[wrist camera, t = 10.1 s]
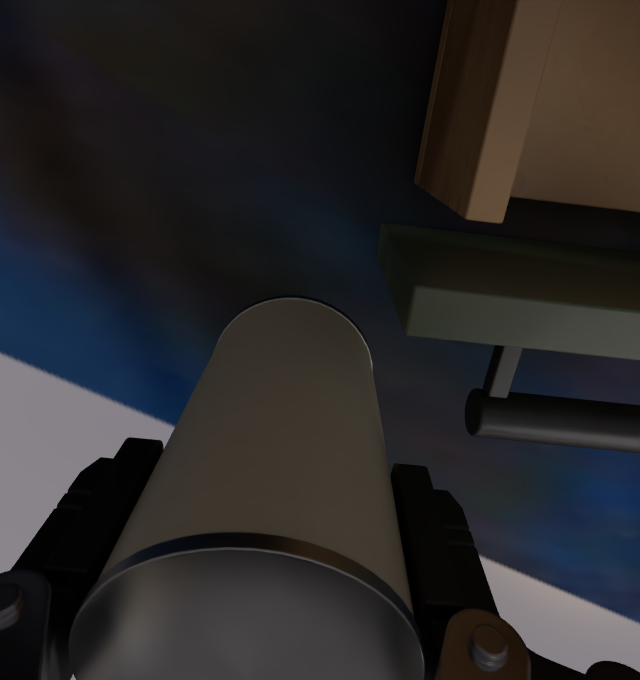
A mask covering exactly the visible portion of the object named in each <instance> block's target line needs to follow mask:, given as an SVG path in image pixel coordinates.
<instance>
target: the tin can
mask: <svg viewBox="0 0 640 680" xmlns="http://www.w3.org/2000/svg"><path fill="white" fill-rule="evenodd" d="M68 648H69V659H70V664H71V667H72V670H73V674H74V676H75V678H76V680H424V678H425V656H424V650H423V645H422V640H421V635H420V631H419V628H418V626H417V623H416V621H415V617H414V611H413V605H412V599H411V594H410V588H409V582H408V576H407V570H406V564H405V558H404V553H403V547H402V541H401V535H400V529H399V523H398V518H397V512H396V506H395V500H394V494H393V488H392V483H391V477H390V471H389V465H388V459H387V453H386V447H385V442H384V436H383V430H382V424H381V418H380V412H379V407H378V401H377V395H376V389H375V383H374V377H373V364H372V357H371V353H370V349H369V346H368V343H367V341H366V339H365V337H364V335H363V333H362V332H361V330H360V329H359V328H358V326H357V325H356V324H355V323H354V322H353V321H352V320H351V318H350V317H348V316H347V315H346V314H345V313H343V312H342V311H341V310H339V309H338V308H336V307H334V306H333V305H331V304H329V303H326V302H324V301H322V300H319V299H315V298H312V297H307V296H301V295H281V296H274V297H270V298H266V299H263V300H260V301H257V302H255V303H253V304H251V305H249V306H247V307H246V308H244V309H243V310H242V311H240V312H239V313H238V314H237V315H235V316H234V317H233V318H232V319H231V320H230V322H229V323H228V324H227V325H226V327H225V328H224V330H223V332H222V333H221V335H220V337H219V339H218V342H217V344H216V346H215V350H214V352H213V354H212V356H211V358H210V360H209V362H208V364H207V366H206V368H205V370H204V372H203V374H202V376H201V378H200V380H199V382H198V383H197V385H196V387H195V389H194V391H193V393H192V395H191V397H190V399H189V401H188V403H187V405H186V407H185V409H184V411H183V413H182V415H181V417H180V419H179V421H178V423H177V425H176V427H175V429H174V431H173V433H172V435H171V437H170V439H169V441H168V443H167V445H166V446H165V448H164V450H163V452H162V454H161V456H160V458H159V460H158V462H157V464H156V466H155V468H154V470H153V472H152V474H151V476H150V478H149V480H148V482H147V484H146V486H145V488H144V490H143V492H142V494H141V496H140V498H139V500H138V502H137V503H136V505H135V507H134V509H133V511H132V513H131V515H130V517H129V519H128V521H127V523H126V525H125V527H124V529H123V531H122V533H121V535H120V537H119V539H118V541H117V543H116V545H115V547H114V549H113V551H112V553H111V555H110V557H109V559H108V561H107V562H106V564H105V566H104V568H103V570H102V572H101V574H100V576H99V578H98V580H97V582H96V583H95V584H94V585H93V586H92V587H91V589H90V591H89V592H88V594H87V596H86V597H85V599H84V600H83V602H82V604H81V606H80V608H79V610H78V612H77V614H76V616H75V619H74V621H73V624H72V627H71V630H70V637H69V645H68Z"/></svg>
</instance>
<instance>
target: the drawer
mask: <svg viewBox="0 0 640 680" xmlns="http://www.w3.org/2000/svg"><path fill="white" fill-rule="evenodd" d="M414 183H415V184H416V185H418V186H419V187H420V188H422V189H423V190H425V191H426V192H428V193H429V194H430V195H432V196H433V197H435V198H436V199H438V200H439V201H440V202H442V203H443V204H445V205H446V206H448V207H449V208H450V209H452V210H453V211H455V212H456V213H458V214H459V215H460V216H462V217H463V218H465V219H466V220H473V221H482V222H490V223H499V224H500V223H502V222H503V220H504V216H505V212H506V209H507V205H508V201H509V198H510V197H513V198H521V199H530V200H538V201H546V202H555V203H563V204H572V205H580V206H589V207H597V208H606V209H614V210H622V211H631V212H639V213H640V0H448V1H447V7H446V12H445V17H444V23H443V28H442V34H441V39H440V44H439V50H438V55H437V60H436V66H435V71H434V76H433V82H432V87H431V93H430V98H429V103H428V109H427V114H426V119H425V125H424V130H423V136H422V141H421V146H420V152H419V157H418V162H417V168H416V173H415V179H414ZM376 257H377V260H378V262H379V265H380V268H381V271H382V273H383V276H384V279H385V282H386V284H387V287H388V290H389V293H390V295H391V298H392V301H393V304H394V306H395V309H396V312H397V315H398V317H399V320H400V323H401V326H402V328H403V331H404V334H405V335H407V336H416V337H425V338H435V339H444V340H453V341H462V342H472V343H481V344H490V345H495V347H494V351H493V354H492V357H491V361H490V364H489V368H488V371H487V374H486V378H485V381H484V384H483V388H484V389H478V388H475V389H473V390H471V392H470V393H469V395H468V398H467V401H466V406H465V424H466V428H467V431H468V433H469V434H470V435H471V436H474V437H484V438H494V439H504V440H514V441H523V442H533V443H543V444H553V445H563V446H573V447H583V448H593V449H603V450H613V451H622V452H632V453H640V405H632V404H622V403H612V402H603V401H593V400H584V399H574V398H565V397H555V396H545V395H536V394H526V393H517V392H509V391H510V387H511V384H512V381H513V378H514V375H515V372H516V369H517V366H518V363H519V360H520V357H521V354H522V351H523V348H527V349H537V350H546V351H555V352H565V353H574V354H583V355H592V356H602V357H611V358H620V359H629V360H639V361H640V252H633V251H624V250H615V249H607V248H598V247H589V246H581V245H572V244H563V243H555V242H546V241H538V240H529V239H520V238H512V237H503V236H494V235H486V234H477V233H468V232H460V231H451V230H442V229H434V228H425V227H416V226H408V225H399V224H390V223H381V225H380V231H379V237H378V243H377V249H376Z"/></svg>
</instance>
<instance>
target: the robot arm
mask: <svg viewBox="0 0 640 680" xmlns="http://www.w3.org/2000/svg"><path fill="white" fill-rule="evenodd" d="M163 450H164V449H163V443H162V441H160V440H152V439H141V438H127V439H126V440H125V442H124V443H123V445H122V446H121V448H120V449H119V451H118V452H117V454H116V456H115V457H114V458H113V459H112V458H102V457H101V458H99V459H98V460H96V461H95V462H94V463H92V464H91V465H90V466H88V467H87V468H85V469H84V470H83V471H81V472H80V474H79V475H78V476H77V478H76V479H75V481H74V482H73V483H72V485H71V486H70V488H69V489H68V492H67V494H65V495H64V496H63V497H62V499H61V500H60V502H59V503H58V505H57V508H56V509H54V510H53V511H52V513H51V514H50V516H49V517H48V518H47V520H46V521H45V523H44V524H43V525H42V527H41V528H40V530H39V531H38V532H37V534H36V535H35V537H34V538H33V539H32V541H31V542H30V544H29V545H28V547H27V548H26V549H25V551H24V552H23V553H22V555H21V556H20V558H19V559H18V560H17V562H16V563H15V565H14V566H13V567H12V569H11V570H10V571H7V572H4V573H1V574H0V680H70V679H71V677H72V675H73V670H72V667H71V664H70V659H69V648H68V645H69V637H70V630H71V627H72V624H73V621H74V619H75V616H76V614H77V612H78V610H79V608H80V606H81V604H82V602H83V600H84V599H85V597H86V596H87V594H88V592H89V591H90V589H91V587H92V586H93V585H94V584H95V583H96V582H97V580H98V578H99V576H100V574H101V572H102V570H103V568H104V566H105V564H106V562H107V561H108V559H109V557H110V555H111V553H112V551H113V549H114V547H115V545H116V543H117V541H118V539H119V537H120V535H121V533H122V531H123V529H124V527H125V525H126V523H127V521H128V519H129V517H130V515H131V513H132V511H133V509H134V507H135V505H136V503H137V502H138V500H139V498H140V496H141V494H142V492H143V490H144V488H145V486H146V484H147V482H148V480H149V478H150V476H151V474H152V472H153V470H154V468H155V466H156V464H157V462H158V460H159V458H160V456H161V454H162V452H163ZM391 483H392V488H393V494H394V500H395V506H396V512H397V518H398V523H399V529H400V535H401V541H402V547H403V553H404V558H405V564H406V570H407V576H408V582H409V588H410V594H411V599H412V605H413V611H414V617H415V621H416V623H417V626H418V628H419V631H420V635H421V640H422V645H423V650H424V656H425V678H424V680H640V672H638V671H636V670H634V669H633V668H631V667H628V666H626V665H624V664H620V663H617V662H613V661H601V662H597V663H595V664H593V665H591V667H590V668H589V669H588V670H587V672H586V674H583V673H581V672H578V671H576V670H573V669H571V668H568V667H566V666H563V665H561V664H558V663H556V662H554V661H551V660H549V659H546V658H544V657H542V656H540V655H538V654H536V653H534V652H533V651H531V650H530V649H528V648H527V647H526V645H525V643H524V642H523V640H522V638H521V637H520V636H519V634H518V633H517V632H516V631H515V629H514V628H513V627H512V626H511V625H510V624H508V623H507V622H506V621H505V620H503V619H502V618H500V616H499V613H498V610H497V608H496V605H495V602H494V599H493V596H492V593H491V590H490V587H489V585H488V582H487V579H486V576H485V573H484V570H483V567H482V564H481V561H480V558H479V555H478V552H477V549H476V548H475V547H474V541H473V538H472V535H471V532H470V531H469V526H468V523H467V520H466V517H465V515H464V512H463V509H462V507H461V506H460V505H459V504H458V502H457V501H456V500H455V499H454V498H453V496H452V495H451V494H450V493H449V492H448V491H445V490H435V489H433V486H432V482H431V479H430V475H429V472H428V469H427V467H426V466H418V465H407V464H397V463H395V464H394V465H393V468H392V472H391Z"/></svg>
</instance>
